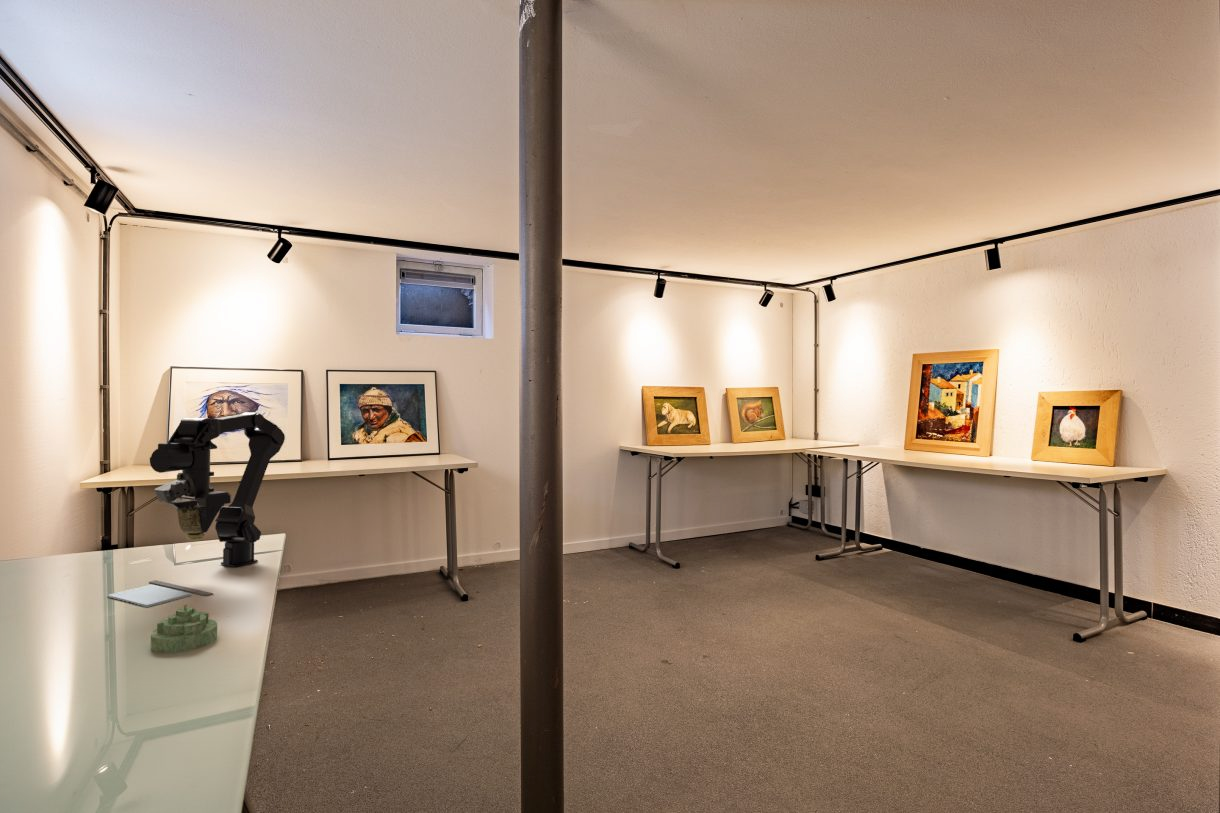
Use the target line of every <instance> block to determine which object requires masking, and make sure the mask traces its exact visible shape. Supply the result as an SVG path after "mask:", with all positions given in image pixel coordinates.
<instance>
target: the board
mask: <svg viewBox="0 0 1220 813" xmlns="http://www.w3.org/2000/svg"><path fill="white" fill-rule="evenodd" d="M190 596H192V593H190V592H186V591H181V590H177V589H173V588H168V587H164V586H159V585H155V584H151V583H150V584H148V585H143V586H140V587H135V588H130V589H127V590H122V591H119V592H114V593H110V594H107V596H106V597H107V598H109V599H112V598H113V600H116V599H117V601H120V600H122V601H121V602H124V601H126V602H125V603H128V602H131V603H130V604H132V603H134V604H133V605H136V604H137V606H140V605H141V606H140V607H144V608H150V607H153V606H157V605H160V604H164V603H167V602H168V603H169V602H172V601H176V600H179V599H184V598H186V597H190Z"/></svg>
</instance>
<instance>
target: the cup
mask: <svg viewBox="0 0 1220 813" xmlns="http://www.w3.org/2000/svg"><path fill="white" fill-rule="evenodd" d="M195 506H199V505H198V504H197V505H195ZM177 511H178V512H177ZM176 512H177V517H178V518H177V519H178V524H179V528H180V529H181V530H180V531H182V532H183V533H185V534H186V536H185V537H186V539H187V540H188V541H197V540H198V541H199V540H202V539H203V538H204V537H205V532H204V533H202V531H201V524H200V514H199V511H198V510H197V509H195V508H194V507H193V508H192V507H191V506H189V507H188V510H187V508H186V507H183V508H180V510H179V508H178V509H177V510H176Z"/></svg>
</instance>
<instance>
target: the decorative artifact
mask: <svg viewBox="0 0 1220 813" xmlns="http://www.w3.org/2000/svg"><path fill="white" fill-rule="evenodd" d="M209 616H210V615H209V612H204V611H196V609H195V608H194V607H190V608H189V607H188V605H187V603H186V604H183V608H182V609H177V610H175V614H173V615H170V616H168V617H167V618H162V619H161V620H159V621H158V622H157V623H156V628H155V629H154V630H153V631H152V632H151V633H150V650H151V651H152V652H154V653H159V654H171V653H172V654H173V653H182V652H187V651H191V650H192V651H193V650H195V649H199V648H201V647H205V646H207V645H210V644H211V643H213V642H214V641H215V640H217V639H218V638H217V637H218V622H217V621H216V620H213V619H209Z"/></svg>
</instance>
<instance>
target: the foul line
mask: <svg viewBox="0 0 1220 813" xmlns="http://www.w3.org/2000/svg"><path fill="white" fill-rule="evenodd" d="M148 583H149V584H151V583H153V584H152V585H155V584H157V586H159V585H162V586H161V587H164V586H166V587H165V588H168V587H169V588H170V589H174V590H179V591H183V592H187V593H191V594H196V595H199V596H204V597H208V596H212V595H214V593H213V592H209V591H206V590H201V589H196V588H192V587H187V586H183V585H179V584H174V583H170V582H165V581H161V580H156V579H155V580H151V581H148Z"/></svg>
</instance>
